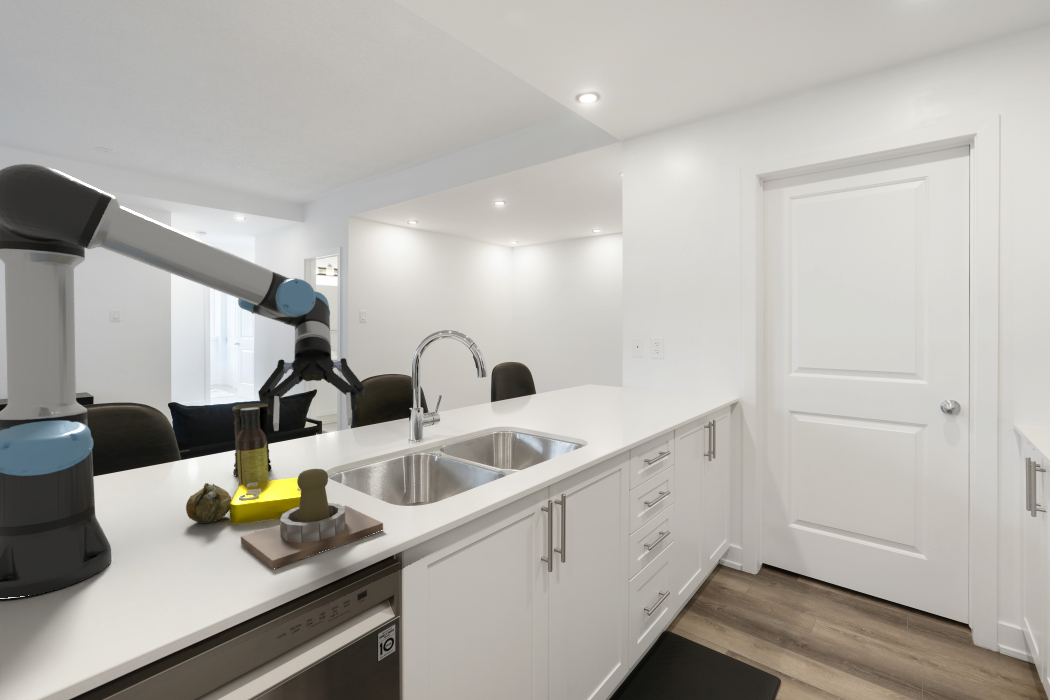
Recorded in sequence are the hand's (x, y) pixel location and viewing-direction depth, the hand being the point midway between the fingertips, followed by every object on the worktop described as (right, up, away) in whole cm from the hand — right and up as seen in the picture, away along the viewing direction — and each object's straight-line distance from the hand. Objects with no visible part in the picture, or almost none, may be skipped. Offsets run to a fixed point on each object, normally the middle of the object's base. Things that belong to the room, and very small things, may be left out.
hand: (313, 424), depth 99 cm
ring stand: (+3, -20, -8) cm, 21 cm away
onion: (-21, -20, +1) cm, 29 cm away
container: (-31, -18, +34) cm, 49 cm away
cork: (+3, -18, -8) cm, 20 cm away
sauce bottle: (-21, -19, +17) cm, 33 cm away
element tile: (-12, -20, +8) cm, 24 cm away
